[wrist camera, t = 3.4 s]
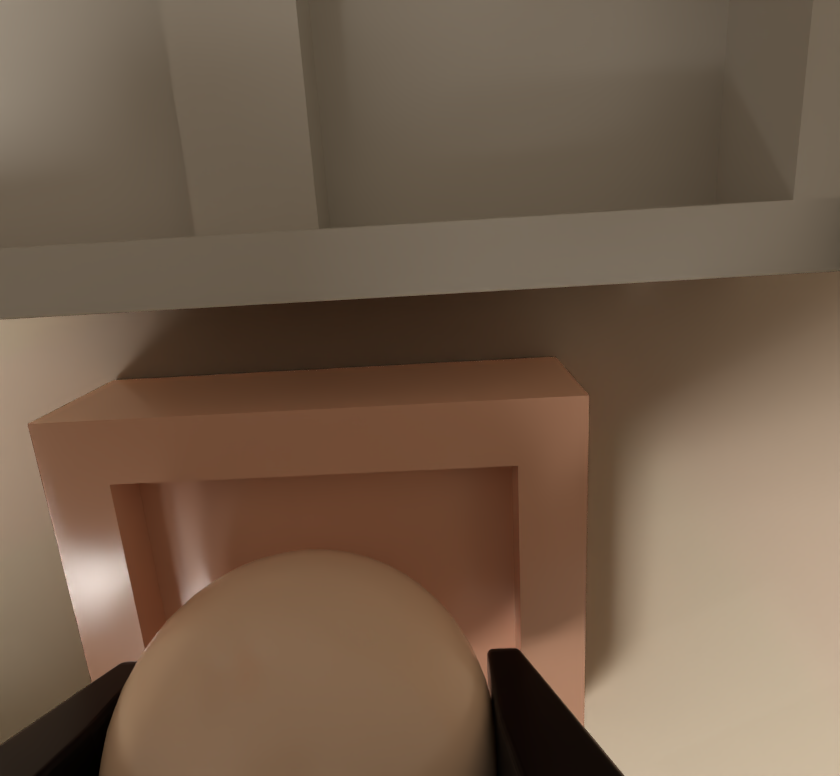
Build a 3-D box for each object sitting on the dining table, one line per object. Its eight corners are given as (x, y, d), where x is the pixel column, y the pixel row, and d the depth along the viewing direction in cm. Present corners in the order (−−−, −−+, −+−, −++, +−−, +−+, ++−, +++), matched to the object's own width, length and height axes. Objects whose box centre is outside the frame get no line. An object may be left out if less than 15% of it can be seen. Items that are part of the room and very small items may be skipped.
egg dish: (555, 723, 12) (582, 835, 10) (185, 734, 12) (132, 846, 10) (555, 356, 10) (588, 395, 8) (113, 380, 10) (27, 423, 8)
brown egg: (487, 734, 10) (526, 1132, 6) (217, 742, 10) (55, 1133, 6) (478, 483, 9) (519, 742, 4) (172, 496, 9) (-75, 759, 5)
